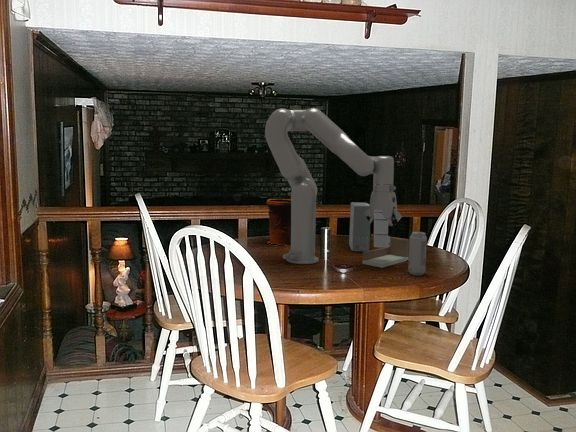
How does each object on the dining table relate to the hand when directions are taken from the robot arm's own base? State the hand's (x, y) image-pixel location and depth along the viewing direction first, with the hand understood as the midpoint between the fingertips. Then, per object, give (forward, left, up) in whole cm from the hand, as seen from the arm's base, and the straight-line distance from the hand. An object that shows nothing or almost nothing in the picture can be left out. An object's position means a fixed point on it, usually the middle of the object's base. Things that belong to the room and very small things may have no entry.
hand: (382, 234), depth 212 cm
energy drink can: (-4, -18, -12) cm, 22 cm away
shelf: (+5, +1, -12) cm, 13 cm away
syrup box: (0, 0, -5) cm, 5 cm away
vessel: (+4, +56, -12) cm, 58 cm away
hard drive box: (+20, +24, -12) cm, 34 cm away
